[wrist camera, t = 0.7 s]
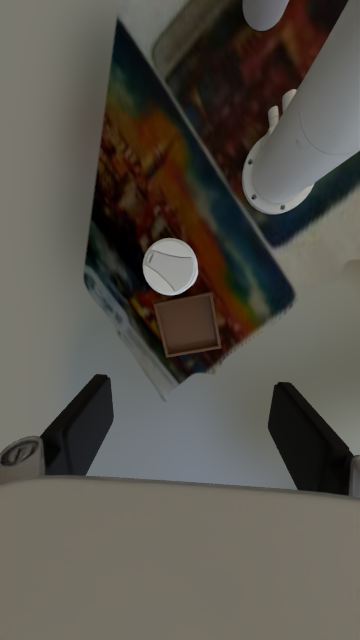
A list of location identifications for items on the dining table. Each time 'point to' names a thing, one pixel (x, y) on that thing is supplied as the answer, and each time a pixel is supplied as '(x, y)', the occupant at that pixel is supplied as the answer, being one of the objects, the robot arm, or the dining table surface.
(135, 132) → the dining table surface
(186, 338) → the tray
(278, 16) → the coffee cup
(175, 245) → the paper cup
